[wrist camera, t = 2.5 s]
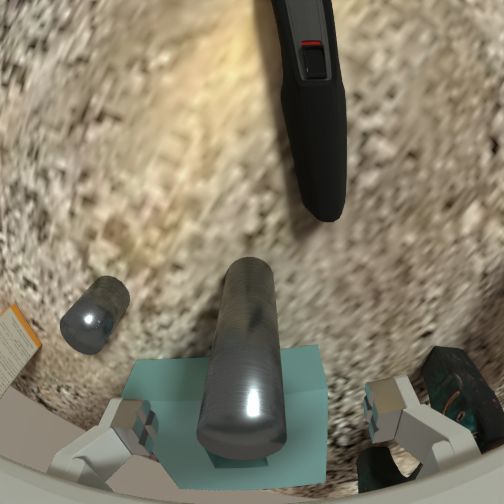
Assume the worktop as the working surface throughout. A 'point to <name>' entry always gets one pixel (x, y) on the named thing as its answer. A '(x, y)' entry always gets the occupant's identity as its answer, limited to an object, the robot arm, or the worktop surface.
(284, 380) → the hole block
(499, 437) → the ceramic cat
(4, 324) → the supplement box
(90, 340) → the short pin
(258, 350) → the long pin
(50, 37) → the worktop surface
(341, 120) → the electric trimmer
